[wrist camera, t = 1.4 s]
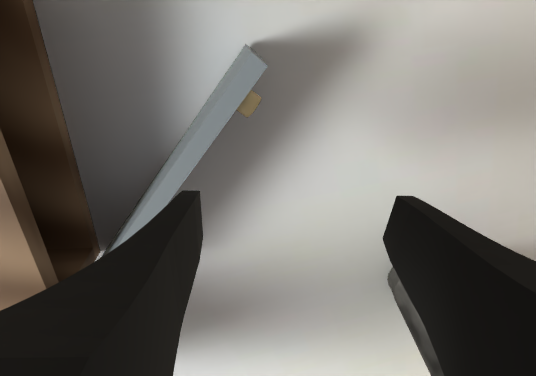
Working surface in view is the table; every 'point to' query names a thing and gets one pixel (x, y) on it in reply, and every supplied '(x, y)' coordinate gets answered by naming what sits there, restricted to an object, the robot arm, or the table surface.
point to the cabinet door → (198, 139)
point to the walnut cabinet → (36, 168)
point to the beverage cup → (414, 324)
